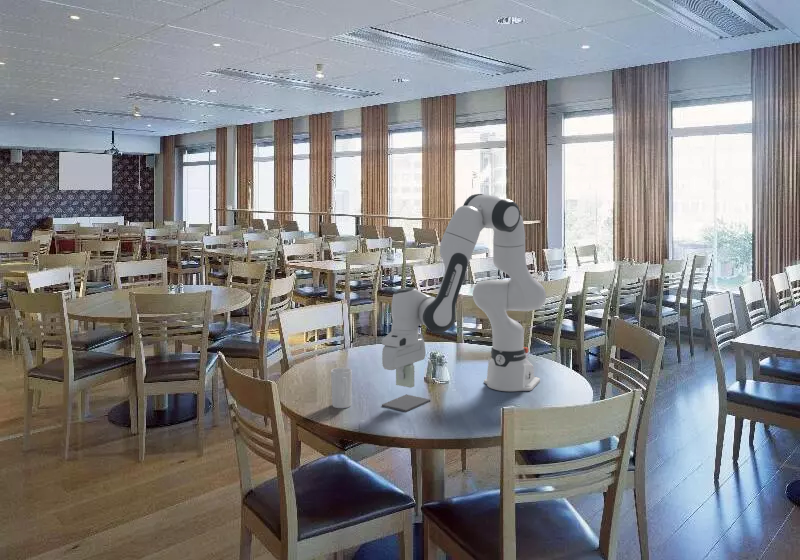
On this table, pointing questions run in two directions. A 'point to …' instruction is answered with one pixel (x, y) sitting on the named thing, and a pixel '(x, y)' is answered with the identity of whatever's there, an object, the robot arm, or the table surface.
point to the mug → (341, 387)
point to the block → (406, 377)
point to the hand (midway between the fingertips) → (404, 377)
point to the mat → (406, 403)
